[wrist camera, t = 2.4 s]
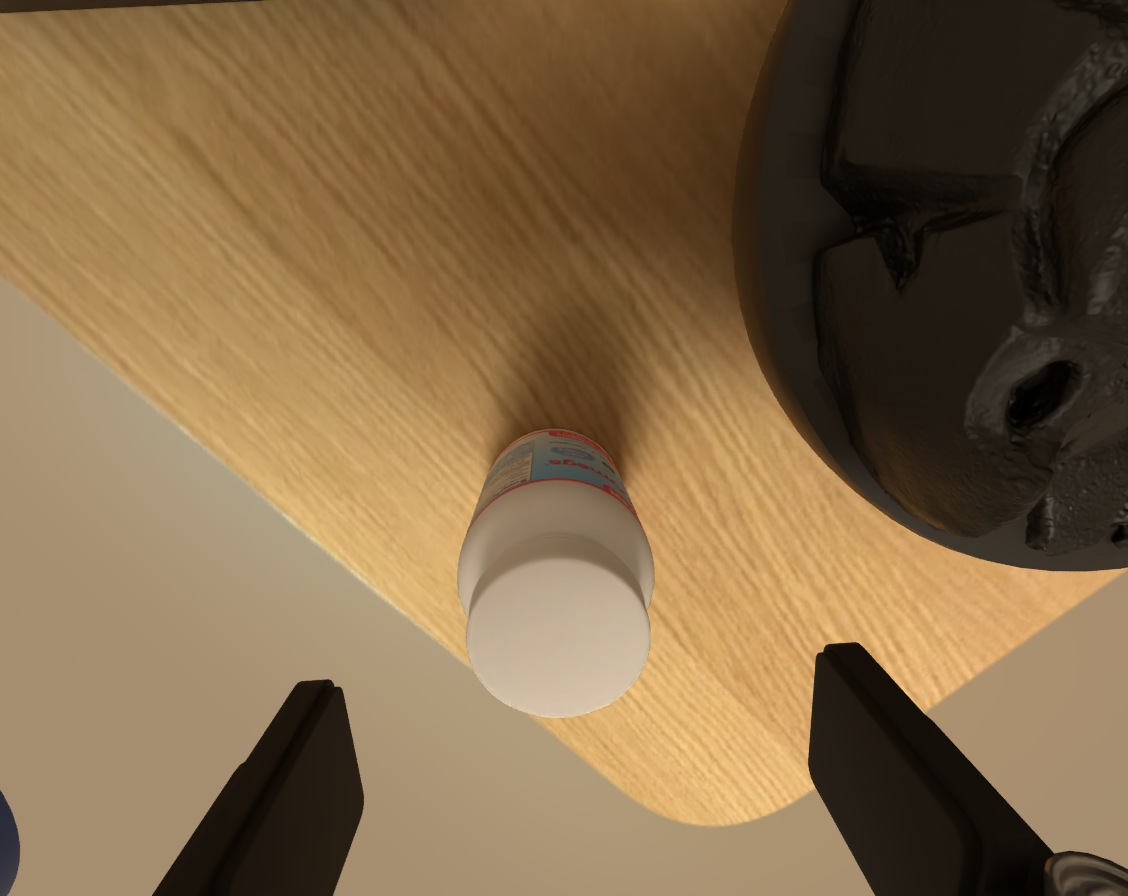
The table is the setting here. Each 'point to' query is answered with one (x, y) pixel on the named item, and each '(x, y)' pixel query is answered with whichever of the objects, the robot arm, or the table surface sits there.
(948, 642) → the table surface
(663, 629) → the table surface
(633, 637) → the pill bottle
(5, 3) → the scale
